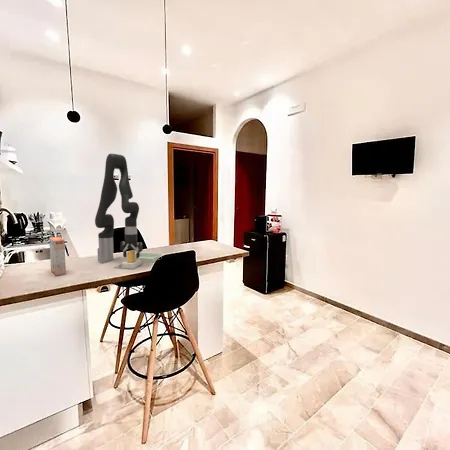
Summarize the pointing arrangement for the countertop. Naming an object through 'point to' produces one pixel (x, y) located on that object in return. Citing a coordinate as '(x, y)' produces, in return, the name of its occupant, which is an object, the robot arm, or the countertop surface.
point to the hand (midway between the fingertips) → (131, 257)
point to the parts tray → (148, 257)
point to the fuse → (131, 256)
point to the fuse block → (129, 265)
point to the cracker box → (57, 255)
